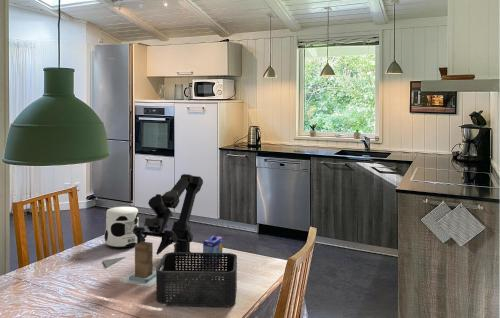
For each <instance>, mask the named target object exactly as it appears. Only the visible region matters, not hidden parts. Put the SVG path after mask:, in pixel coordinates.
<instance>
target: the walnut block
mask: <svg viewBox="0 0 500 318" xmlns="http://www.w3.org/2000/svg"><path fill="white" fill-rule="evenodd" d="M153 246H154V245H153V242H150V241H149V242H148V241H145V242H143V241H142V242H140V243H138V244H135V245H134V271H135V276H136V277H142V278H147V277H149V276H150V275H152V274H153V271H154V270H153V266H154V264H153V263H154V261H153V259H154V257H153V251H154V249H153Z"/></svg>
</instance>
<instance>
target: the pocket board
mask: <svg viewBox="0 0 500 318" xmlns="http://www.w3.org/2000/svg"><path fill="white" fill-rule="evenodd" d="M118 282H120V283H124V284H125V283H126V284H131V285H137V286H142V287H147V288H150V287H152V286H153V285H154V284H156V270H155V271H154V270H153V274H152V275H150V276H149V277H147V278H142V277H136V276H135V270H134V271H133V272H131V273H129V274H128V275H126V276H125V277H123V278H121V279H120V280H118Z"/></svg>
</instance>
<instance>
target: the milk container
mask: <svg viewBox="0 0 500 318" xmlns="http://www.w3.org/2000/svg"><path fill="white" fill-rule="evenodd" d="M105 216H106V218H105V224H106V226H105V232H104V242H105V245H107V246H108V247H110V248H114V249H115V248H117V249H119V248H120V249H121V248H129V247H133V246H135V245H136V244H137V236H136V235H135V234H134V233H133V232H132V231H133V229H134V227H136V226H138V227H140V226H139V209H138V208H136V207H133V206H115V207H110V208H108V209H107V210H106V214H105Z"/></svg>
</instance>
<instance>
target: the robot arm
mask: <svg viewBox="0 0 500 318" xmlns="http://www.w3.org/2000/svg"><path fill="white" fill-rule="evenodd" d="M203 184H204V179H202V177H201V176H199V175H192V174H190V173H189V174H188V173H187V174H185V173H182V174H181V176H180V178H179V179H178V180H177V182H176V183H175V184H174V186H173V187H172V188H171V189H170V190H168V191H166V192H164V193H163V194H161V193H159V194H158V193H157V194H155V196H153V197H151V198H150V199H148V200H149V201H148V202H147V203H148V206H149V207H150V209H151V210H152V211H153V213H154V214H155V217H152V218H149V217H145V220H144V222H143V226H139V225H138V226H139V227H138V226H136V227H134V229H133V231H132V232H133V233H134V234H135V235H136V236H137V244H138V243H140V242H142V241H143V242H146V238H147V237H148V236H149V237H154V238H155V237H156V238H161V240H160V243H159V245H158V248H157V250H156V255H157V256H158V255H159V254H160V253H162V252H163V251H164V250H165V249H166V248H168V247H169V246H170V245H174V249H173V250H174V251H173V252H190V253H192V252H191V250H190V249H191V248H190V247H191V245H190V244H191V243H192V242H193V239H194V235H193V234H192V232H191V225H190V217H191V214H192V210H193V206H194V203H195V199H196V196H197V194H198V193H199V192H200V191H201V189H202V187H203ZM184 191H185V196H184V199H183V202H182V207H181V211H180V215H179V217H178V220H177V221H174V222H173V225H172V228H171V230H168V229H167V228H168V223H169V219H170V218H171V217H173V216H174V215H173V212H172V210H171V209H176V208H177V207H178V205H179V203H180V197H181V196H182V194H183V193H184ZM144 227H147V230H146V229H145V228H144ZM182 255H183V254H182Z"/></svg>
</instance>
